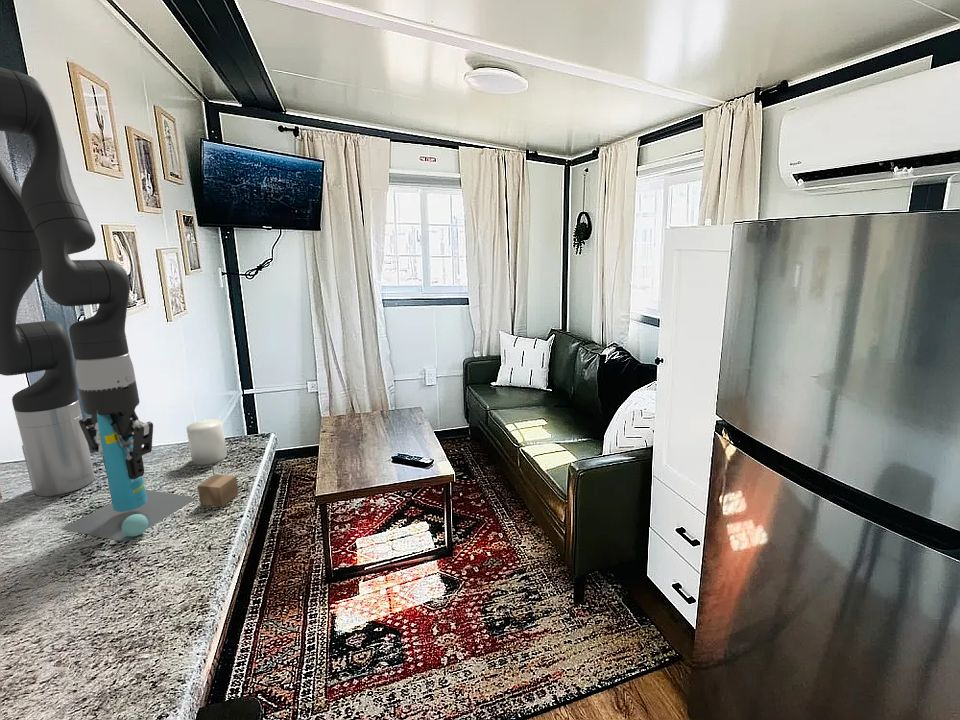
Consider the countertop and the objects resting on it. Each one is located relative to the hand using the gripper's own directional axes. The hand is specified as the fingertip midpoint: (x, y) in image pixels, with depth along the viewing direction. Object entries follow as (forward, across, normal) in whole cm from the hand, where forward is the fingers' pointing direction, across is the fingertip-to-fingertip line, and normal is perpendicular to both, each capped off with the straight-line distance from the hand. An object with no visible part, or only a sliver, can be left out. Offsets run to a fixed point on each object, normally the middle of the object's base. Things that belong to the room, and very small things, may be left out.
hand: (125, 474), depth 81 cm
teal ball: (+7, +7, -5) cm, 11 cm away
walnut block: (+6, +9, +8) cm, 13 cm away
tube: (+6, 0, 0) cm, 6 cm away
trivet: (+8, 0, 0) cm, 8 cm away
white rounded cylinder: (+8, -6, +23) cm, 25 cm away
